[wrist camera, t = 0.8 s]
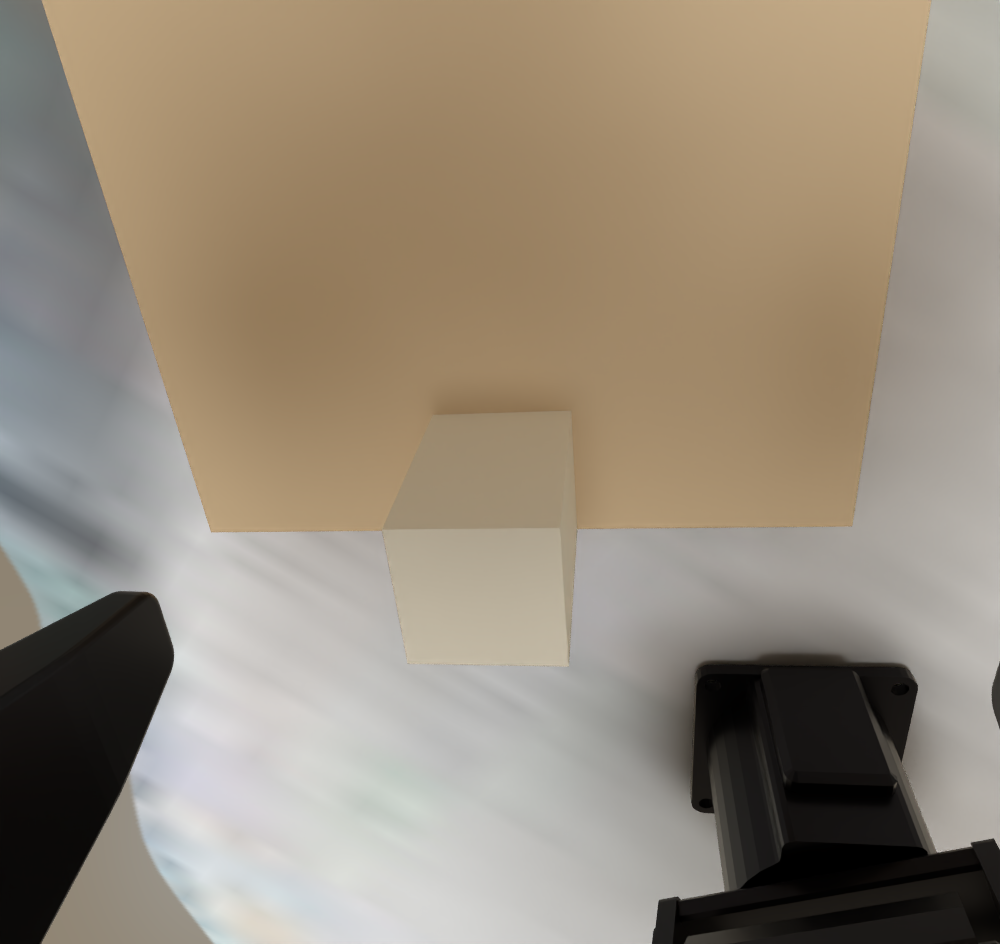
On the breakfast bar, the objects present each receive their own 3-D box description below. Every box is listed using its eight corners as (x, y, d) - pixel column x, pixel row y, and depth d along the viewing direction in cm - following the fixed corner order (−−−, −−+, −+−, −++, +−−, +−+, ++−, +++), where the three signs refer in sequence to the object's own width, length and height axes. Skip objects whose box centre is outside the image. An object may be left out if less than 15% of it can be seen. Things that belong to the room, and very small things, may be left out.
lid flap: (845, 511, 18) (922, 671, 14) (221, 518, 20) (113, 659, 16) (941, -156, 12) (1130, -256, 8) (48, -43, 14) (-201, -69, 10)
